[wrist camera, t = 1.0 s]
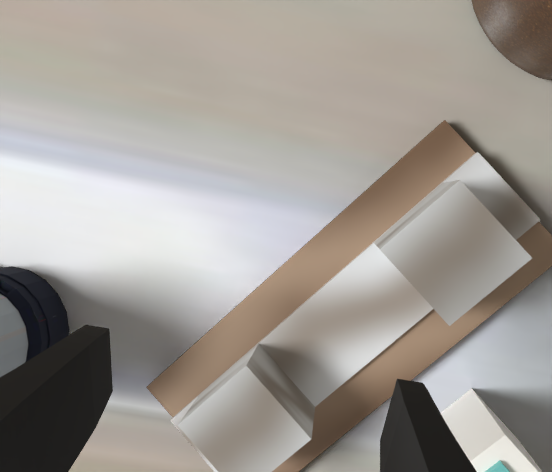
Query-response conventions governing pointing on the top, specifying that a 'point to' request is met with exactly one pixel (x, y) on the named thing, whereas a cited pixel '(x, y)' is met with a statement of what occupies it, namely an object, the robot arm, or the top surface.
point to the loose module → (486, 437)
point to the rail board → (357, 311)
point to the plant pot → (520, 32)
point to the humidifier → (28, 317)
